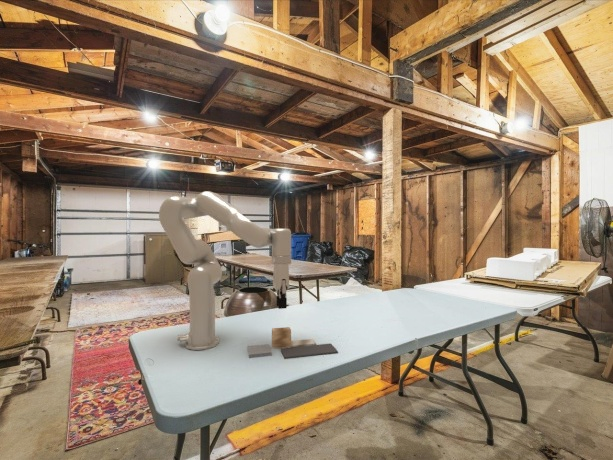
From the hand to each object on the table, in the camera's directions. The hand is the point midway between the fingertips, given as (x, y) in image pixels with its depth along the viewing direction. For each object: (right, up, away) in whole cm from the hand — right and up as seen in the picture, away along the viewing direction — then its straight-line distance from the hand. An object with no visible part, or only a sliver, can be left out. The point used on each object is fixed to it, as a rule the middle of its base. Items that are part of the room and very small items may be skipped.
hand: (281, 306), depth 118 cm
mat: (+11, -15, -5) cm, 19 cm away
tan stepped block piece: (+5, -15, +1) cm, 16 cm away
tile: (-9, -15, -2) cm, 18 cm away
